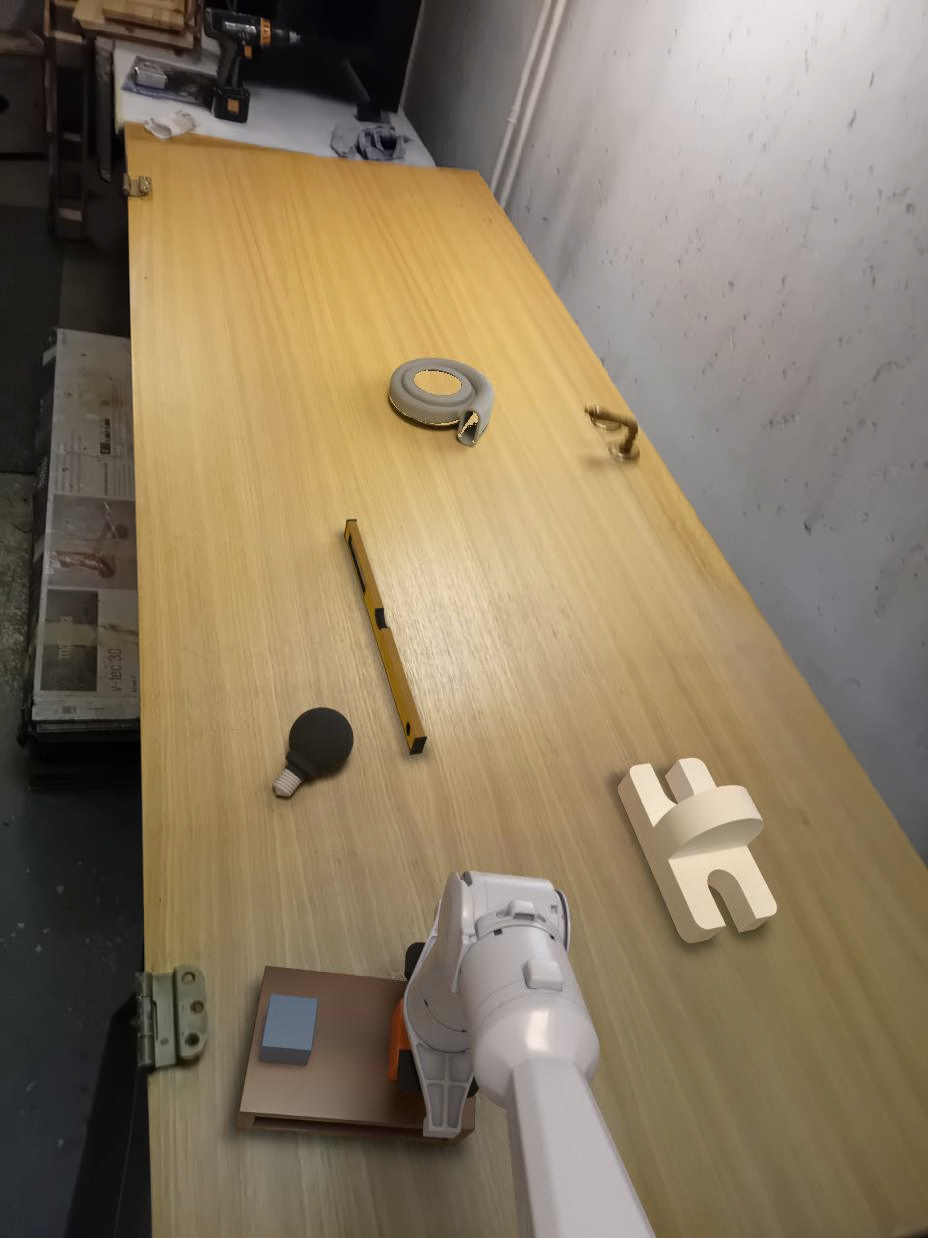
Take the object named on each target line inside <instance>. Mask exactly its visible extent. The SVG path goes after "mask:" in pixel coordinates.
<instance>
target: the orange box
mask: <svg viewBox="0 0 928 1238" xmlns="http://www.w3.org/2000/svg"><path fill="white" fill-rule="evenodd" d="M402 1004H403V999H401V1001H400V1002H399V1004H398V1006H397V1008H396V1010H395V1012H394V1013H393V1015H392V1026H391V1038H390V1051H389V1064H388V1077H387V1078H388V1079H390V1080H397V1068H398V1054H399V1049H405V1050H411V1046H410V1042H409V1038H408V1034H407V1030H406V1027H405V1023H404V1018H403V1009H402Z"/></svg>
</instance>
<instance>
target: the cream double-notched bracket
mask: <svg viewBox="0 0 928 1238" xmlns="http://www.w3.org/2000/svg"><path fill="white" fill-rule="evenodd" d="M664 777H665V780H666V782H667V784H668V786H669V788H670V790H671V792H672V794H673V797H674V799H675V800H676V803H675V802H673V801H672V800H670V799H669V797H667V795H666V794H665V792H664V790H663V787H662V785H661V783H660V780H659V779H658V776H657V774H656V773H655V771H654V769H653V766H652V764H651V763H643V764H636V765H633V766H631V768H630V769H629V770H628V772H627V773H626V774H625V776H624V777H623V778H622V780H621V781H620V783H619V784H618V785H617V788H616V789H617V793H618V796H619V798H620V801H621V803H622V806H623V807H624V810H625V812H626V814H627V817H628V819H629V822H630V824H631V826H632V829H633V831H634V833H635V835H636V838H637V841H638V843H639V846H640V848H641V850H642V852H643V854H644V856H645V859H646V861H647V865H648V866H649V868H650V871H651V873H652V876H653V878H654V880H655V883H656V884H657V885H656V886H657V887H658V888H659V892H660V894H661V896H662V899H663V901H664V903H665V906H666V908H667V910H668V914H669V915H670V918H671V920H672V922H673V925H674V926H675V929H676V931H677V934H678V936H679V937H680V939H682V940H683V941H684V942H686V943H687V944H696V943H700V942H704V941H708V940H710V939H712V938H713V937H714V936H715V935H717V934H718V933H719V932H720V931H721V930H723V929H724V928H725V927H726V926H727V925H726V923H725V920H724V918H723V917H722V914H721V912H720V910H719V908H718V905H717V903H716V901H715V899H714V896H713V894H712V893H711V890H710V888H709V887H711V888H713V889H714V890H716V891H717V892H718V893H719V895H720V896H721V898H722V900H723V902H724V905H725V907H726V908H727V910H728V913H729V915H730V917H731V919H732V921H733V923H734V925H735V927H736V929H737V932H738V933H739V934H741V933H744V932H749V931H753V930H756V929H758V928H759V927H760V926H762V924H764V923H765V922H766V921H767V920H769V919H770V918H771V917H773V916H774V915H775V914H776V913H777V911H778V905H777V902H776V900H775V898H774V896H773V894H772V892H771V889H770V888H769V887H768V885H767V882H766V881H765V879H764V877H763V875H762V873H761V870H760V869H759V867H758V865H757V863H756V861H755V859H754V857H753V855H752V853H751V851H750V849H749V847H748V845H750V843H752V841H754V840H755V839H756V838H757V837H758V836H759V835H760V834H761V832H763V830H764V828H765V822H764V820H763V818H762V816H761V814H760V812H759V810H758V808H757V806H756V805H755V803H754V800H753V799H752V797H751V795H750V794H749V791H748V790H747V788H746V787H744V786H742V785H738V784H737V785H736V784H729V785H722V786H717V785H716V783H715V781H714V779H713V777H712V775H711V773H710V771H709V770H708V767H707V766H706V764H705V763H704V761H703V760H702V759H699V758H697V757H687V758H681V759H677V761H676V762H675V763H674V764H673V765H672V767H671V768H670V770H668V772H667V773H666V774H665V775H664Z"/></svg>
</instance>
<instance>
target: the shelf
mask: <svg viewBox="0 0 928 1238" xmlns="http://www.w3.org/2000/svg"><path fill="white" fill-rule="evenodd" d="M261 981H262V982H261V987H260V993H259V998H258V1002H257V1003H258V1004H257V1010H256V1015H255V1020H254V1026H253V1031H252V1036H251V1042H250V1048H249V1052H248V1059H247V1064H246V1068H245V1069H246V1070H245V1075H244V1080H243V1085H242V1090H241V1097H240V1101H239V1107H238V1113H237V1120H236V1130H240V1131H256V1132H266V1133H267V1132H269V1133H281V1134H293V1135H294V1134H295V1135H308V1136H319V1137H320V1136H321V1137H334V1138H345V1139H346V1138H347V1139H349V1138H350V1139H360V1140H362V1139H363V1140H374V1141H389V1142H402V1143H412V1144H413V1143H415V1144H416V1143H417V1144H428V1145H442V1146H455V1147H456V1146H458V1145H459V1144H460V1143H462V1141H464V1140H465V1139H466V1138H467V1137H468V1136H469V1135H471V1134H472V1133H473V1132H474V1131H475V1130H476V1094H475V1095H474V1096H473V1097H471V1098H466V1100H465V1103H464V1107H463V1112H462V1119H461V1132H460V1133H459V1134H458V1135H457V1136H455V1137H454V1138H439V1137H427V1136H423V1123H424V1118H425V1117H426V1116H427V1114H426V1106H425V1101H424V1096H423V1094H412V1093H406V1092H403V1091H401V1090H400V1089H399V1087H398V1083H397V1080H390V1079H388V1078H387V1077H388V1064H389V1051H390V1038H391V1026H392V1015H393V1013H394V1012H395V1010H396V1008H397V1006H398V1004H399V1002H400V1001H401V999H403V997H404V993H405V990H406V987H407V985H408V983H409V982H408V980H407V979H406V980H405V979H395V978H386V977H377V976H366V975H359V974H347V973H340V972H339V973H337V972H328V971H319V970H311V969H301V968H290V967H282V966H271V965H265V966H264V971H263V978H262V980H261ZM270 994H278V995H288V996H298V997H308V998H318V999H319V1002H318V1009H317V1016H316V1024H315V1031H314V1038H313V1046H312V1051H311V1054H310V1057H309V1060H308V1063H307V1065H296V1064H284V1063H273V1062H262V1061H259V1055H260V1049H261V1044H262V1038H263V1032H264V1027H265V1021H266V1015H267V1010H268V1004H269V998H270Z"/></svg>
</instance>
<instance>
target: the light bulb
mask: <svg viewBox="0 0 928 1238" xmlns="http://www.w3.org/2000/svg"><path fill="white" fill-rule="evenodd" d="M354 736H355V735H354V730H353V727H352V725H351V723H350V722H349V720H348V719H347V717H345V715H344V714H342V713H341V712H339V711H338V710H336V709H334V708H331V707H327V706H326V707H324V706H322V707H321V706H319V707H313V708H310V709H308V710H306V711H304V712H303V713H301V714H300V715H299V716H298V717H297V718H296V719H295V720H294V722H293V723H292V725H291V728H290V730H289V733H288V747H289V750H288V752H287V753H286V754H285V757H284V759H285V760H286V761H287V764H286V766H285V767H284V769H283V770H282V772H280V774H279V775H278V777H276V780H274V782H273V783H272V786H273V789H274V792H275V794H276V796H282V797H292V794H294V792H295V791H296V789H298V787H299V786H300V784H301V783H302V782H303V781H305V779H306V778H308V779H315V777H316V776H317V775H318V774H319V773H325V772H330V771H333V770H335V769H337V768H339V767H340V766H342V765H343V764H344V763H345V762H346V761H347V760H348V758H349V756H350V755H351V753H352V750H353V748H354V740H355V737H354Z"/></svg>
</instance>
